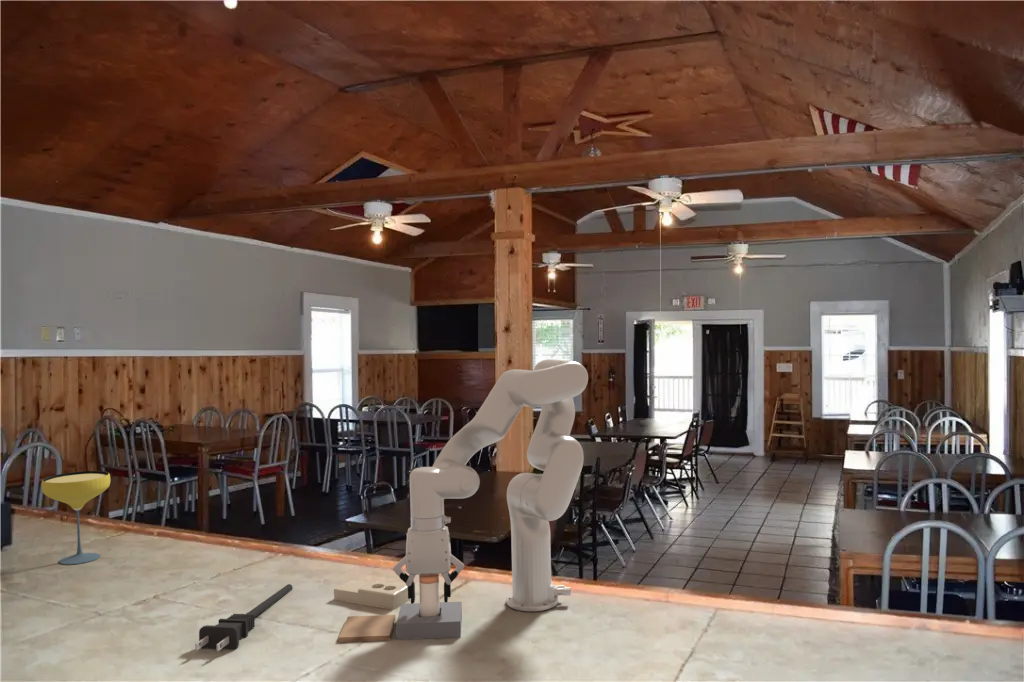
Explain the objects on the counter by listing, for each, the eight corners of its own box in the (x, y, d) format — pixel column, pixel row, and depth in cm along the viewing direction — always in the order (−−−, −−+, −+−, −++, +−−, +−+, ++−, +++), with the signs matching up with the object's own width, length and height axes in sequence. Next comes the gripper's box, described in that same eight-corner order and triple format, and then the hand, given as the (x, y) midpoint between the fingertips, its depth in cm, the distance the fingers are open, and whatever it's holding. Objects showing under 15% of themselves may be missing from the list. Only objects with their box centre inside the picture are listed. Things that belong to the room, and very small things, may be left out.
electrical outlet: (351, 576, 204) (409, 585, 196) (352, 591, 204) (410, 601, 196) (333, 585, 198) (393, 594, 190) (334, 601, 198) (393, 611, 190)
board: (395, 618, 184) (395, 614, 184) (389, 640, 172) (389, 635, 172) (348, 620, 184) (347, 616, 184) (338, 642, 172) (338, 637, 172)
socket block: (461, 616, 185) (461, 601, 185) (460, 637, 173) (460, 621, 173) (401, 618, 184) (401, 603, 184) (396, 639, 172) (396, 623, 172)
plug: (440, 623, 181) (439, 571, 180) (439, 631, 176) (438, 578, 176) (421, 624, 181) (419, 572, 180) (419, 631, 176) (418, 578, 176)
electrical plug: (187, 658, 165) (187, 634, 166) (273, 596, 207) (273, 577, 207) (226, 659, 164) (225, 635, 164) (305, 597, 205) (304, 578, 205)
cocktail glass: (73, 549, 247) (69, 470, 246) (126, 550, 245) (123, 470, 244) (30, 568, 229) (26, 482, 228) (87, 569, 227) (83, 483, 226)
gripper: (466, 517, 182) (468, 593, 182) (390, 519, 181) (392, 596, 182) (465, 525, 174) (467, 605, 175) (386, 528, 174) (389, 608, 174)
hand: (429, 600), depth 178 cm, fingers open, 6 cm apart
